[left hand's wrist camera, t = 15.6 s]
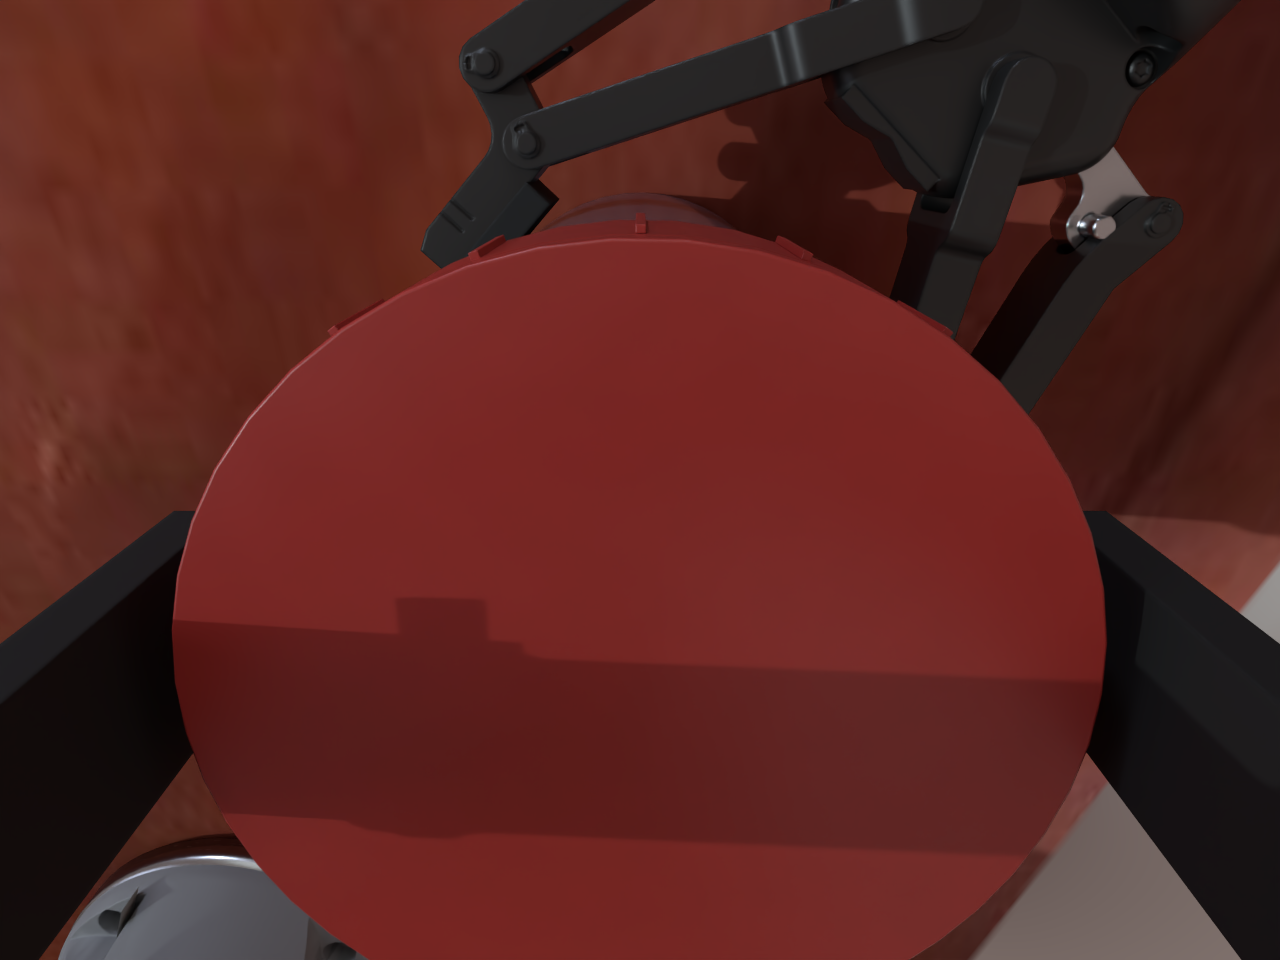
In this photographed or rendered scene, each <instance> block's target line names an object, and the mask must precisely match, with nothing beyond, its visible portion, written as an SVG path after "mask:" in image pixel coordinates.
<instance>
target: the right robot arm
mask: <svg viewBox="0 0 1280 960" xmlns="http://www.w3.org/2000/svg"><path fill="white" fill-rule="evenodd" d="M654 1H655V0H525V1H523V2H522V3H520V4H519V5H518V6H516V7H515V8H513V9H512V10H510V11H509V12H507V13H506V14H505V15H503V16H502V17H500V18H499V19H497V20H496V21H495V22H493V23H492V24H490V25H489V26H487V27H486V28H484V29H483V30H482V31H480V32H479V33H477V34H476V35H474V36H473V37H471V38H470V39H469V40H468V41H467V42H466V43H465V44H464V46H463V47H462V50H461V53H460V55H459V68H460V71H461V73H462V76H463V79H464V80H465V81H466V82H467V83H468V84H469V85H470V86H471V88H472V90H473V91H474V93H475V95H476V97H477V99H478V101H479V103H480V104H481V106H482V108H483V110H484V112H485V114H486V116H487V118H488V120H489V123H490V126H491V132H492V137H491V144H490V147H489V150H488V152H487V154H486V155H485V157H484V158H483V160H482V161H481V162H480V163H479V165H478V166H477V167H476V168H475V170H474V171H473V172H472V173H471V175H470V176H469V177H468V178H467V180H466V181H465V182H464V183H463V185H462V186H461V187H460V188H459V190H458V191H457V192H456V193H455V195H454V196H453V197H452V199H451V200H450V201H449V202H448V203H447V205H446V206H445V207H444V208H443V210H442V211H441V213H439V215H438V216H437V217H436V218H435V220H434V221H433V222H432V223H431V225H430V226H429V227H428V228H427V230H426V233H425V236H424V240H423V244H422V247H421V251H422V252H423V253H424V254H425V255H426V256H427V257H429V258H430V259H431V260H432V261H433V262H434V263H435V264H437V265H438V266H439V267H440V268H441V269H442V268H444V267H446V266H447V265H449V264H451V263H453V262H456V261H458V260H460V259H463V258H465V257H468V256H469V255H468V253H469V252H471V251H473V250H475V249H476V248H478V247H480V246H482V245H483V244H485V243H487V242H489V241H490V240H492V239H494V238H496V237H498V236H501V235H504V237H505V240H506V241H507V240H511V239H515V238H519V237H522V236H526V235H530V233H531V232H532V231H533V230H534V229H535V227H536V226H537V225H538V224H539V223H540V222H541V220H542V219H543V218H544V217H545V216H546V214H547V213H548V212H549V211H550V210H551V209H552V207H553V206H554V205H555V204H556V203H557V201H558V200H559V198H558V197H557V196H556V195H555V194H554V193H552V192H551V191H550V190H549V189H548V188H547V187H546V186H545V185H544V184H543V183H542V182H541V181H540V180H539V178H540V176H541V175H542V174H543V173H544V172H545V170H546V169H547V168H548V167H549V166H552V165H555V164H558V163H561V162H564V161H567V160H570V159H573V158H576V157H579V156H582V155H585V154H588V153H592V152H595V151H598V150H601V149H604V148H607V147H610V146H613V145H616V144H619V143H622V142H625V141H628V140H631V139H634V138H637V137H640V136H643V135H646V134H649V133H652V132H655V131H658V130H661V129H665V128H668V127H671V126H674V125H677V124H680V123H683V122H686V121H689V120H692V119H695V118H698V117H701V116H704V115H707V114H710V113H713V112H716V111H719V110H722V109H725V108H728V107H731V106H734V105H737V104H741V103H744V102H747V101H750V100H753V99H756V98H759V97H762V96H765V95H768V94H771V93H774V92H778V91H781V90H784V89H787V88H790V87H793V86H796V85H799V84H802V83H806V82H809V81H812V80H815V79H818V78H821V79H822V84H823V87H824V90H825V93H826V95H827V97H828V99H827V100H826V101H825V102H824V103H825V104H826V105H827V106H828V107H829V108H830V109H831V110H832V112H833V113H834V114H835V115H836V116H837V117H838V118H839V119H840V120H841V121H842V122H843V123H844V124H845V125H846V126H848V127H850V128H851V129H853V130H855V131H856V132H858V133H860V134H861V135H863V136H865V137H867V138H868V139H869V140H870V141H871V142H872V144H873V146H874V148H875V150H876V152H877V154H878V156H879V158H880V160H881V162H882V164H883V166H884V168H885V169H886V170H887V171H888V172H889V173H890V174H891V176H892V177H893V178H894V179H895V180H896V181H897V182H898V183H899V184H900V185H901V186H902V188H903V189H911V190H914V191H916V192H917V195H916V198H915V201H914V204H913V207H912V211H911V214H910V217H909V221H908V225H907V237H908V239H907V244H906V248H905V251H904V254H903V257H902V260H901V264H900V267H899V270H898V273H897V276H896V279H895V282H894V286H893V289H892V292H891V295H890V299H892V300H893V301H895V302H897V301H898V300H899V301H901V302H903V303H905V304H906V305H908V306H910V307H912V308H913V309H915V310H917V311H919V312H921V313H922V314H924V315H926V316H928V317H929V318H931V319H933V320H935V321H937V322H938V323H940V324H942V325H944V326H945V327H947V328H948V329H950V330H951V331H952V332H953V334H952V335H951V336H950V337H951V338H952V339H953V340H954V339H955V337H956V334H957V331H958V328H959V325H960V322H961V320H962V317H963V314H964V311H965V308H966V305H967V303H968V300H969V297H970V294H971V291H972V288H973V285H974V283H975V280H976V277H977V274H978V271H979V268H980V266H981V264H982V261H983V260H984V258H985V257H986V256H988V255H989V254H990V253H991V252H992V250H993V249H994V247H995V246H996V244H997V241H998V239H999V236H1000V234H1001V231H1002V228H1003V225H1004V222H1005V220H1006V217H1007V214H1008V211H1009V208H1010V206H1011V203H1012V200H1013V197H1014V194H1015V192H1016V189H1017V186H1020V185H1025V184H1030V183H1035V182H1040V181H1044V180H1049V179H1054V178H1059V177H1064V179H1065V182H1066V195H1065V197H1064V200H1063V202H1062V204H1061V205H1060V206H1059V208H1058V209H1057V210H1056V212H1055V213H1054V214H1053V215H1052V217H1051V219H1050V229H1051V234H1052V236H1053V237H1052V238H1051V239H1050V240H1049V241H1048V242H1047V243H1046V244H1045V245H1044V246H1043V247H1042V248H1041V250H1040V251H1039V252H1038V253H1037V254H1036V255H1035V256H1034V258H1033V259H1032V260H1031V262H1030V263H1029V265H1028V266H1027V267H1026V269H1025V270H1024V272H1023V273H1022V275H1021V276H1020V278H1019V279H1018V281H1017V282H1016V284H1015V286H1014V287H1013V289H1012V290H1011V292H1010V293H1009V295H1008V297H1007V298H1006V300H1005V301H1004V303H1003V304H1002V306H1001V308H1000V309H999V311H998V312H997V314H996V315H995V317H994V319H993V320H992V322H991V323H990V325H989V326H988V328H987V330H986V331H985V333H984V334H983V336H982V337H981V339H980V341H979V342H978V344H977V345H976V347H975V348H974V350H973V352H972V353H971V356H972V357H973V358H974V359H976V360H977V361H978V362H979V363H980V364H981V365H982V366H983V367H985V368H986V369H987V370H988V371H989V372H990V373H991V374H993V375H994V376H995V377H996V378H997V379H998V380H999V381H1000V382H1001V383H1002V384H1003V385H1004V387H1005V388H1006V389H1007V390H1008V391H1009V393H1010V394H1011V395H1012V396H1013V397H1014V399H1015V400H1016V401H1017V402H1018V403H1019V405H1020V406H1021V407H1022V408H1023V409H1024V411H1025V412H1026V413H1027V414H1029V413H1030V411H1031V410H1032V408H1033V407H1034V405H1035V404H1036V402H1037V401H1038V399H1039V398H1040V397H1041V395H1042V394H1043V392H1044V391H1045V389H1046V388H1047V386H1048V385H1049V383H1050V382H1051V380H1052V379H1053V377H1054V376H1055V374H1056V373H1057V371H1058V370H1059V369H1060V367H1061V366H1062V364H1063V363H1064V361H1065V360H1066V358H1067V357H1068V355H1069V354H1070V352H1071V351H1072V349H1073V348H1074V346H1075V345H1076V343H1077V342H1078V341H1079V339H1080V338H1081V336H1082V335H1083V333H1084V332H1085V330H1086V329H1087V327H1088V326H1089V324H1090V323H1091V321H1092V320H1093V318H1094V317H1095V315H1096V314H1097V313H1098V311H1099V310H1100V308H1101V307H1102V305H1103V304H1104V302H1105V301H1106V299H1107V298H1108V296H1109V295H1110V293H1111V292H1112V290H1113V289H1114V288H1115V287H1116V286H1118V285H1119V284H1120V283H1121V282H1123V281H1124V280H1125V279H1126V278H1127V277H1129V276H1130V275H1131V274H1132V273H1134V272H1135V271H1136V270H1137V269H1138V268H1140V267H1141V266H1142V265H1143V264H1144V263H1146V262H1147V261H1148V260H1149V259H1151V258H1152V257H1153V256H1154V255H1155V254H1157V253H1158V252H1159V251H1160V250H1162V249H1163V248H1164V247H1165V246H1166V245H1168V244H1169V243H1170V242H1171V241H1172V240H1173V239H1174V238H1175V237H1176V236H1177V235H1178V233H1179V231H1180V229H1181V227H1182V224H1183V212H1182V209H1181V207H1180V205H1179V204H1178V203H1177V202H1176V201H1174V200H1173V199H1169V198H1165V197H1154V196H1149V195H1148V194H1147V193H1146V192H1145V190H1144V189H1143V188H1142V186H1141V185H1140V183H1139V182H1138V181H1137V179H1136V178H1135V176H1134V175H1133V174H1132V172H1131V171H1130V169H1129V168H1128V167H1127V165H1126V164H1125V162H1124V161H1123V160H1122V158H1121V157H1120V155H1119V154H1118V153H1117V151H1116V150H1115V148H1114V147H1113V146H1114V145H1115V143H1116V141H1117V140H1118V138H1119V135H1120V133H1121V130H1122V127H1123V125H1124V122H1125V120H1126V118H1127V116H1128V114H1129V112H1130V110H1131V109H1132V107H1133V105H1134V104H1135V102H1136V101H1137V100H1138V98H1139V97H1140V96H1141V94H1142V93H1143V92H1144V91H1145V90H1146V89H1147V88H1148V87H1149V86H1150V85H1151V84H1153V83H1154V82H1155V81H1156V80H1157V79H1158V78H1159V77H1161V76H1162V75H1163V74H1164V73H1165V72H1166V71H1167V70H1169V69H1170V68H1171V67H1172V66H1173V65H1174V64H1175V63H1176V62H1178V61H1179V60H1180V59H1181V58H1182V57H1183V56H1184V55H1185V54H1186V53H1187V52H1188V51H1189V50H1190V49H1191V48H1192V47H1193V46H1194V45H1195V44H1196V43H1197V42H1198V41H1199V40H1200V39H1201V38H1202V37H1204V36H1205V35H1206V34H1207V33H1208V32H1209V31H1210V30H1211V29H1212V28H1213V27H1214V26H1215V25H1216V24H1217V23H1218V22H1219V21H1220V20H1221V19H1222V18H1223V17H1224V16H1225V15H1226V14H1227V13H1228V12H1229V11H1230V10H1231V9H1232V8H1233V7H1235V6H1236V5H1237V4H1238V3H1239V2H1240V1H1241V0H831V4H830V10H828V11H825V12H822V13H819V14H816V15H813V16H810V17H807V18H805V19H802V20H799V21H796V22H793V23H791V24H788V25H785V26H783V27H781V28H779V29H776V30H774V31H771V32H769V33H766V34H763V35H760V36H757V37H754V38H751V39H748V40H745V41H742V42H739V43H736V44H733V45H730V46H727V47H724V48H721V49H718V50H715V51H712V52H709V53H706V54H703V55H700V56H698V57H695V58H692V59H689V60H686V61H683V62H680V63H677V64H674V65H671V66H668V67H665V68H662V69H659V70H656V71H653V72H650V73H647V74H644V75H641V76H638V77H635V78H632V79H629V80H626V81H623V82H620V83H617V84H614V85H611V86H608V87H605V88H603V89H600V90H597V91H594V92H591V93H588V94H585V95H582V96H579V97H576V98H573V99H570V100H567V101H564V102H561V103H558V104H555V105H552V106H549V107H546V108H543V106H542V104H541V102H540V100H539V98H538V96H537V94H536V92H535V90H534V88H533V86H532V84H531V83H533V82H534V81H536V80H537V79H539V78H540V77H542V76H543V75H545V74H546V73H548V72H549V71H551V70H552V69H554V68H555V67H557V66H558V65H560V64H561V63H563V62H564V61H566V60H567V59H569V58H570V57H572V56H573V55H575V54H576V53H578V52H579V51H581V50H582V49H584V48H585V47H587V46H588V45H590V44H591V43H592V42H594V41H595V40H597V39H598V38H600V37H601V36H603V35H604V34H606V33H607V32H609V31H610V30H612V29H613V28H615V27H616V26H618V25H619V24H621V23H622V22H624V21H625V20H627V19H628V18H630V17H631V16H633V15H634V14H636V13H637V12H639V11H640V10H642V9H643V8H645V7H646V6H648V5H649V4H651V3H652V2H654Z"/></svg>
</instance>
